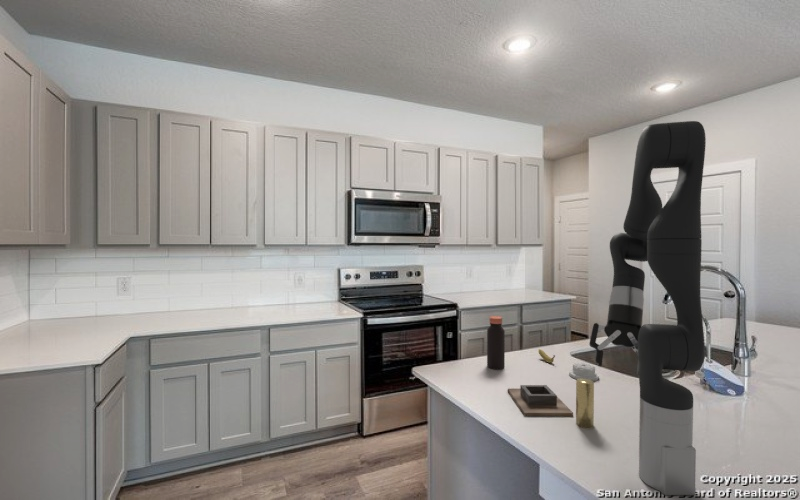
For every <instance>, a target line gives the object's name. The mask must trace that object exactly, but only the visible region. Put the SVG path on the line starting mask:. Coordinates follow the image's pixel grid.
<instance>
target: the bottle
mask: <svg viewBox="0 0 800 500" xmlns="http://www.w3.org/2000/svg"><path fill="white" fill-rule="evenodd" d="M489 325H490V326H489V327H488V328H487V330H486V336H487V337H486V351H487V352H486V366H487V367H488V369H493V370H502V369H504V368H505V362H506V361H505V354H506V353H505V342H506V340H505V337H506V334H505V329H504V328H503V327H502V325H503V317H502V316H498V315H497V316H495V315H493V316H489Z"/></svg>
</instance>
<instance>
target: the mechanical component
mask: <svg viewBox="0 0 800 500" xmlns="http://www.w3.org/2000/svg"><path fill="white" fill-rule="evenodd" d="M568 371H569V372H568V375H569V377H571V378H572V379H575V380H577V379H588V380H591V381H593V382H596V381H598V380H599V379H600V377H599V376H600V375H599V373H597V372H596V367H595V365H592V364H590V363H585V362H577V363H576V362H575V363H574V364H572V369H570V370H568Z"/></svg>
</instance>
